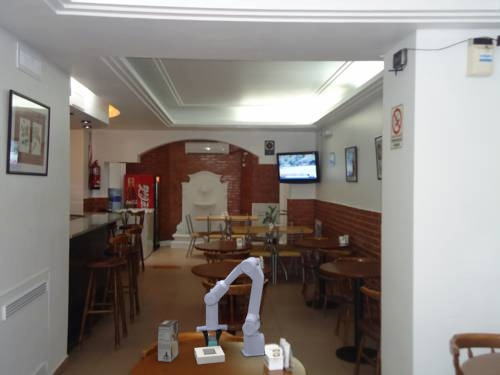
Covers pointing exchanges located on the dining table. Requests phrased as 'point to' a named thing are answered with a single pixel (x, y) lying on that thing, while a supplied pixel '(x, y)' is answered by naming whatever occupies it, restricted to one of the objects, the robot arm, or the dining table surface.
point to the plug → (212, 340)
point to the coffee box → (167, 340)
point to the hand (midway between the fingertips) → (211, 345)
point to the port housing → (209, 355)
